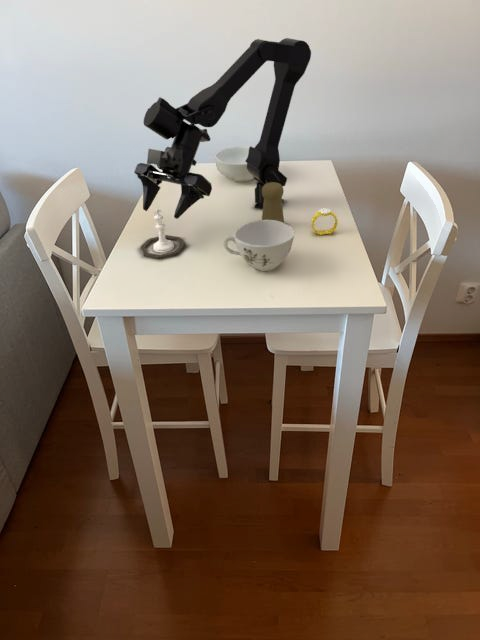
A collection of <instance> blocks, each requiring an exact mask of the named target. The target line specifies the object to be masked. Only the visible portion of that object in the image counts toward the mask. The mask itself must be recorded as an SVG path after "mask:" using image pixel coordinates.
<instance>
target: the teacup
mask: <svg viewBox="0 0 480 640" xmlns="http://www.w3.org/2000/svg"><path fill="white" fill-rule="evenodd" d="M294 239H295V230H294V229H293V228H292V226H290V225H288V224H287V223H285V222H284V223H282V222H279V221H275V220H262V219H260V220H252V221H249V222H246V223H244V224H241V225H240V227H239V228H236V230H235V231H234V236H233V235H227V236H226V237H225V238H224V240H223V245H224V249H225V250H226V251H227V252H228V253H230V254H231V255H235V256H239V257H241V258H242V259H243V260H244V261H245V262H246V263H247V264H248V265H249V266H251V268H253V269H255V270H257V271H261V272H269V271H273V270H275V269H276V268H277V267H278V266H280V264H282V263H283V262H284V260H285V259H286V258H287V257H288V255H289V253H290V251H291V249H292V246H293V242H294ZM230 241H231V242H233V243H234V244H235V245H236V248H237V251H236V250H233V249H231V248H230V247H229V246H228V243H229V242H230Z"/></svg>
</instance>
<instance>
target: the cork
mask: <svg viewBox="0 0 480 640" xmlns="http://www.w3.org/2000/svg"><path fill="white" fill-rule="evenodd" d="M284 193H285V192H284V186H283V187H282V185H281V184H279V183H276V182H270V183H266V184H265V185H264V186H263V188H262V196H263V197H264V203H263V209H262V213H261V220H275V221H279V222H282V223H285V217H284V210H283V203H282V201H281V197H282V198H283V195H284Z"/></svg>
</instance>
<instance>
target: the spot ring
mask: <svg viewBox="0 0 480 640" xmlns="http://www.w3.org/2000/svg"><path fill="white" fill-rule="evenodd" d="M165 238H166V239H167V240H170V241H174V242H177V243H178V245H179V246H178V247H177V248H176V249H175V250H174V251H171V252H165V253H163V254H157V253H152V252H148V250H147V247H148V246H150V245H151V244H152V243H156V242H158V241H159V236H155V237H151V238H148V239H147V240H146V241H145V242H143V243H142V244H141V245H140V247H139V248H140V251H141V253H142V255H143V256H144V257H145V258H150V259H155V260H164V259H169V258H172V257H175V256H177V255H179V254H180V253H181V252H183V250H184V249H185V248H186V244H185V242H184V241H183V239H182V237H180V236H174V235H166V234H165Z"/></svg>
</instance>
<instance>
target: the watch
mask: <svg viewBox="0 0 480 640" xmlns="http://www.w3.org/2000/svg"><path fill="white" fill-rule="evenodd" d="M320 216H321V217H327V216H332V218H334V224H333V226H332V227H331V228H330V229H327V230H321V231H320V230H317V229H316V228H315V221H316V220H317V218H319V217H320ZM338 225H339V224H338V218H337V216H336V214H335V213H334V212H333V211H331V209H330V208H326V207H324V208H320V209H319V210H318V212H317V213H315V214H314V215H313V217H312V219H311V229H312V230H313V232H314V233H315V234H316V235H318V236H322V235H329V234H330V235H331V234H333V233H334V232H335V231H336V229H337V227H338Z"/></svg>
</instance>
